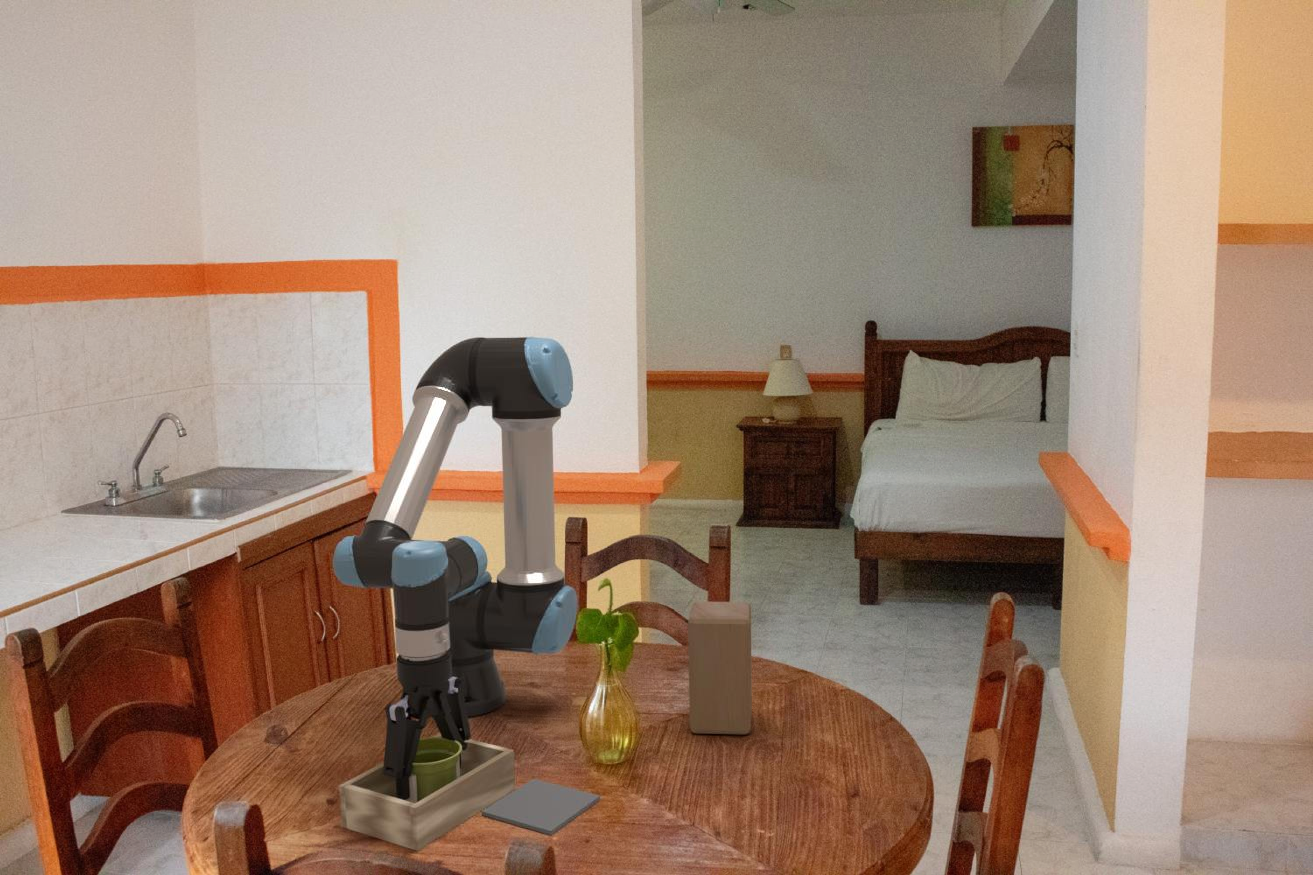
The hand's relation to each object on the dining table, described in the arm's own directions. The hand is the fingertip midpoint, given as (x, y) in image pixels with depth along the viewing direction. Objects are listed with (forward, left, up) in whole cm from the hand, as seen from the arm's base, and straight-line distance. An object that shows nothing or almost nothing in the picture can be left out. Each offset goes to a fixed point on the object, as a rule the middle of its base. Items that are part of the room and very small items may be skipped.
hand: (431, 804), depth 164 cm
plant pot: (0, 0, -1) cm, 1 cm away
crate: (0, 0, 0) cm, 0 cm away
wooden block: (+23, +46, -1) cm, 52 cm away
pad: (+14, +7, 0) cm, 16 cm away
